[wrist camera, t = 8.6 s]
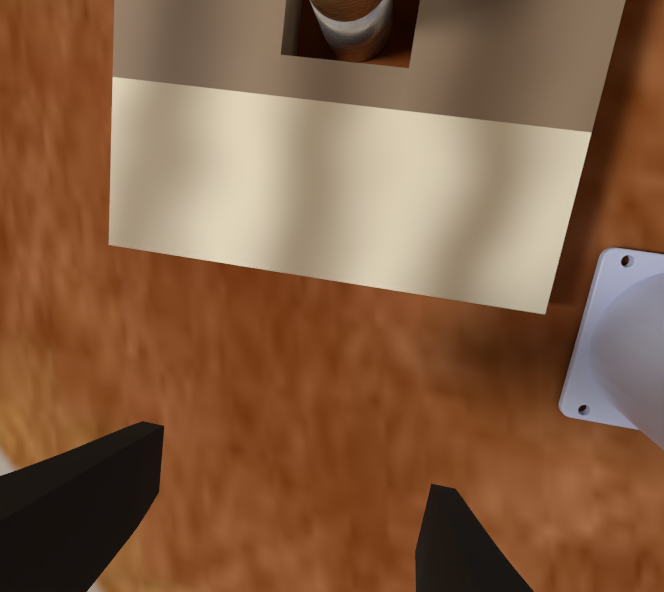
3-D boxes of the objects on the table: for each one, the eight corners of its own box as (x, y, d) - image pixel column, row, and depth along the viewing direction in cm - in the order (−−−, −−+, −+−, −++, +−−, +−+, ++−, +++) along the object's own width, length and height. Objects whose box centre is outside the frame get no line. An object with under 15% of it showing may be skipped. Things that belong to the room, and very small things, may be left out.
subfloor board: (639, -167, 15) (686, -238, 13) (525, 301, 19) (545, 314, 17) (157, -190, 17) (120, -255, 15) (141, 241, 21) (109, 244, 19)
